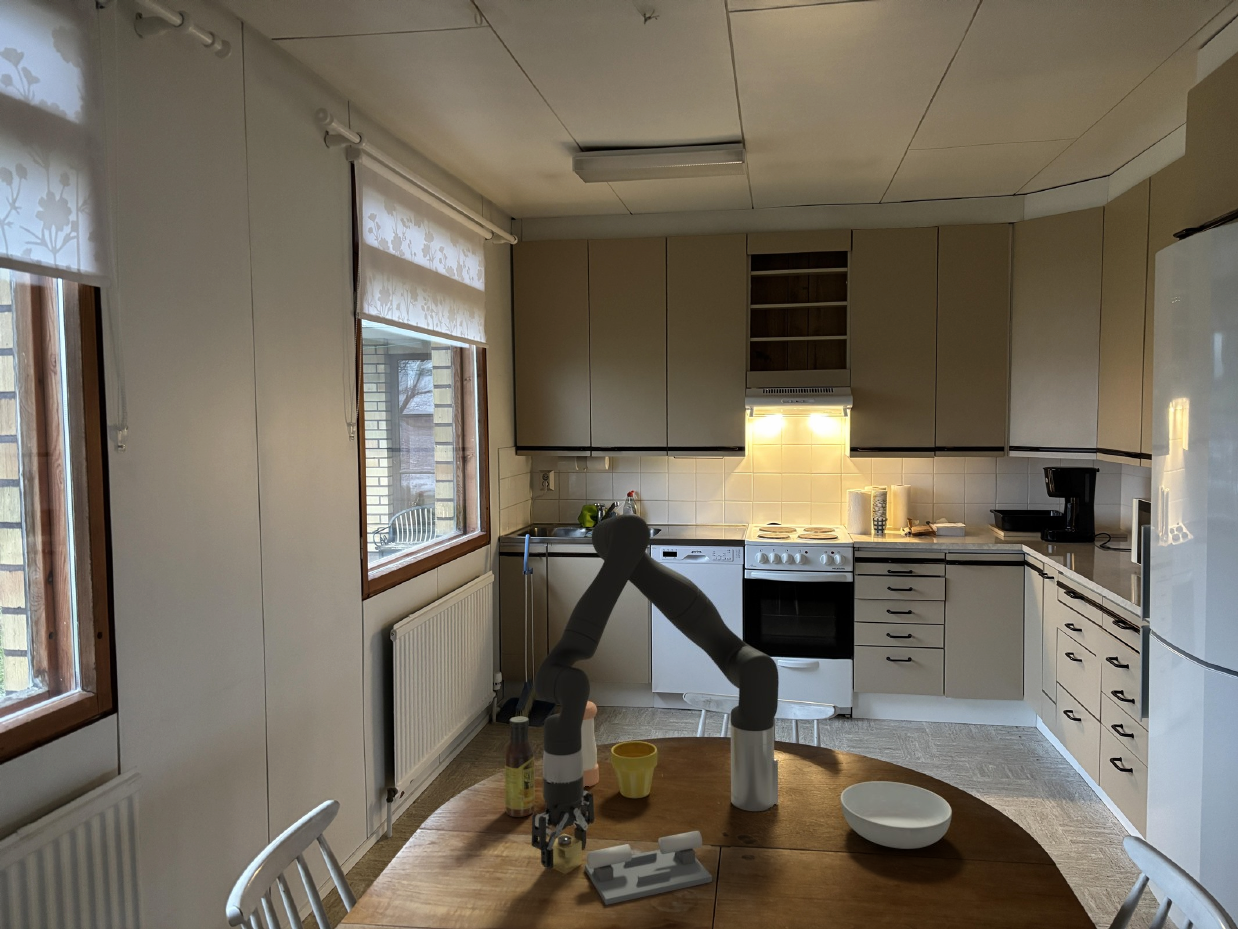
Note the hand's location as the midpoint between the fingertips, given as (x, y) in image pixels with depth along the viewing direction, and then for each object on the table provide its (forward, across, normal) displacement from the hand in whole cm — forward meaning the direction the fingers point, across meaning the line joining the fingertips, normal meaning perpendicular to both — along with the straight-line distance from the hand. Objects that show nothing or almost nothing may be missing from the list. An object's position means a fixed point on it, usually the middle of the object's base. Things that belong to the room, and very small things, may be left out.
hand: (564, 858), depth 153 cm
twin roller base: (+1, -7, +14) cm, 16 cm away
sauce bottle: (+2, -9, -22) cm, 24 cm away
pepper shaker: (+2, -29, -22) cm, 37 cm away
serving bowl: (+1, -49, +43) cm, 65 cm away
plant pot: (+1, -32, -9) cm, 33 cm away
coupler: (+1, 0, 0) cm, 1 cm away
